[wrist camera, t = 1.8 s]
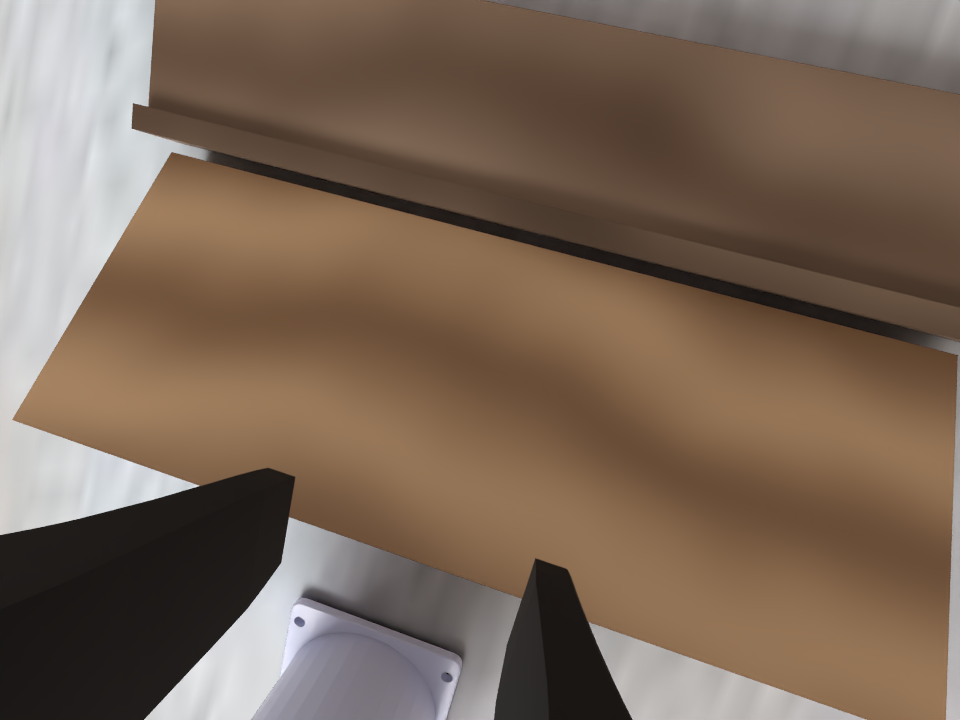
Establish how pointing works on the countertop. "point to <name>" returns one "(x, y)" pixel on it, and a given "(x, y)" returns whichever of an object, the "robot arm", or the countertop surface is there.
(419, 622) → the countertop surface
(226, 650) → the countertop surface
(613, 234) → the walnut board
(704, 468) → the teak plank
